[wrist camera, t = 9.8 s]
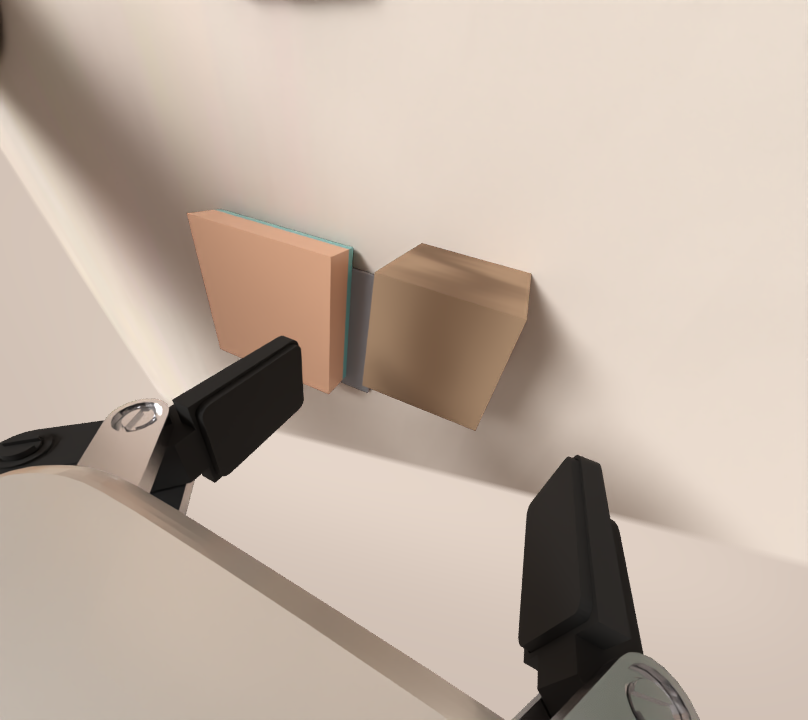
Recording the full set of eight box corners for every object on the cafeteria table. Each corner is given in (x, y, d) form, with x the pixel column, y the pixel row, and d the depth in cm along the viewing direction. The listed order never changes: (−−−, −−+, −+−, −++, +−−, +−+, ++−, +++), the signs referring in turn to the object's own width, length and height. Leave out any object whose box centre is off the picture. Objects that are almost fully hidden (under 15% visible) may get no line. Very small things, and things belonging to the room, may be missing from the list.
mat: (230, 334, 27) (227, 336, 26) (205, 222, 21) (202, 223, 21) (369, 390, 24) (367, 392, 24) (383, 276, 18) (381, 278, 18)
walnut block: (404, 334, 20) (362, 385, 15) (422, 242, 16) (374, 272, 12) (491, 365, 19) (475, 430, 14) (531, 273, 15) (526, 319, 11)
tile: (220, 208, 20) (244, 335, 26) (186, 213, 18) (220, 348, 24) (353, 247, 18) (345, 376, 24) (330, 256, 16) (328, 394, 22)
